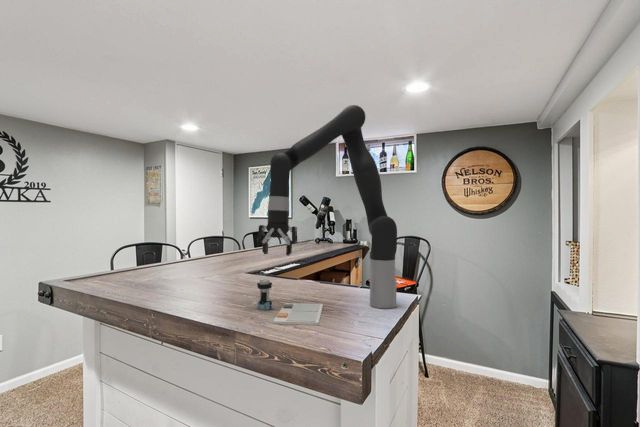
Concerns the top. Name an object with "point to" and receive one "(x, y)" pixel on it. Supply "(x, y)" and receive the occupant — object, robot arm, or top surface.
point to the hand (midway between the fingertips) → (276, 254)
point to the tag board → (299, 314)
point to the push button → (264, 295)
